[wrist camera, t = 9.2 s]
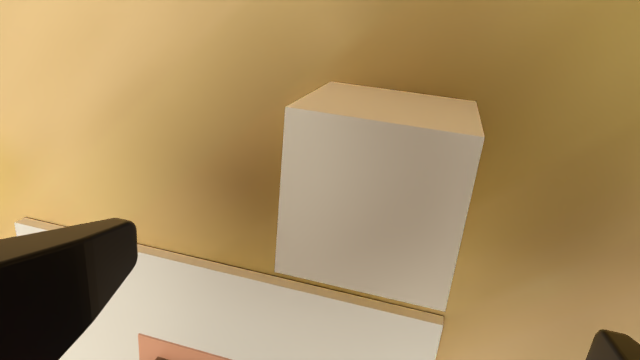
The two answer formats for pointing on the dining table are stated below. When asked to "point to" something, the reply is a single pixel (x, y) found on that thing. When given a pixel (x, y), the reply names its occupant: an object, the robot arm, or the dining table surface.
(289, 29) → the dining table surface
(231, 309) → the blueprint board
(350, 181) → the offwhite cube
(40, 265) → the robot arm
